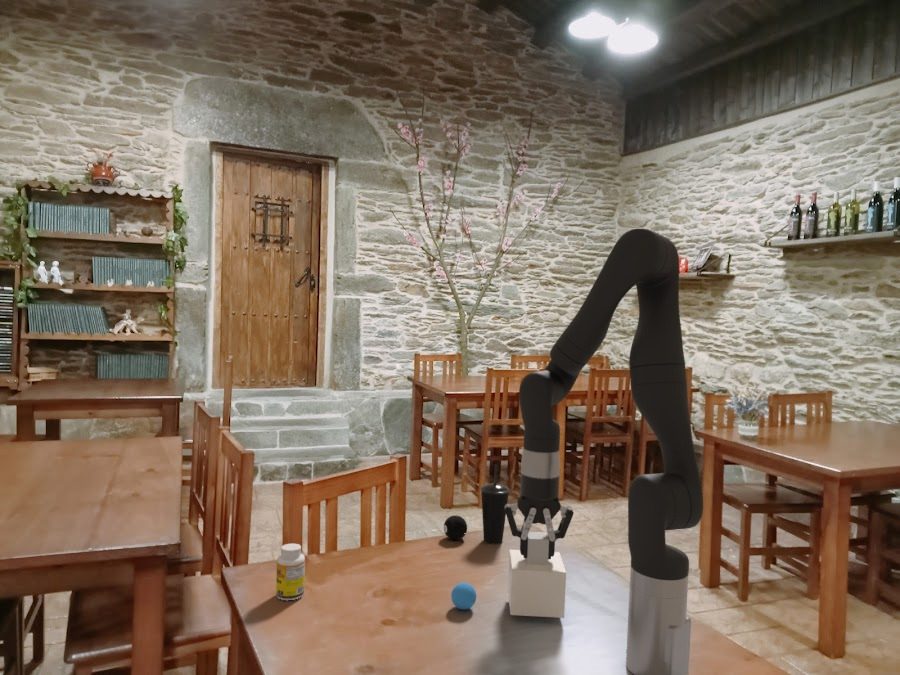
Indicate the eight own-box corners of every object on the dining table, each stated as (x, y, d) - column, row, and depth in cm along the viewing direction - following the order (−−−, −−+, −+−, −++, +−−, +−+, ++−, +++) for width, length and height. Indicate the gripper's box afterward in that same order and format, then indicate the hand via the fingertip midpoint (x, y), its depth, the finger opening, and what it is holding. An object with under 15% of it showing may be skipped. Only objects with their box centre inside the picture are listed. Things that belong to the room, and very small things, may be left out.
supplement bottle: (275, 591, 131) (276, 542, 131) (303, 588, 133) (304, 540, 132) (276, 603, 126) (277, 553, 125) (305, 600, 127) (306, 550, 127)
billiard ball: (439, 536, 166) (440, 513, 166) (460, 533, 169) (461, 511, 168) (449, 544, 161) (450, 521, 160) (470, 541, 163) (471, 518, 163)
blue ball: (481, 609, 126) (482, 584, 126) (463, 616, 123) (463, 591, 123) (463, 600, 130) (464, 576, 130) (445, 607, 127) (446, 582, 126)
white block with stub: (557, 593, 131) (560, 528, 130) (564, 617, 121) (567, 546, 120) (507, 591, 131) (510, 525, 131) (510, 614, 121) (513, 543, 121)
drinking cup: (506, 547, 160) (509, 469, 159) (476, 544, 161) (479, 466, 160) (509, 537, 167) (512, 462, 166) (480, 534, 169) (483, 459, 168)
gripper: (573, 468, 128) (570, 552, 129) (503, 465, 129) (500, 548, 130) (579, 478, 121) (575, 567, 122) (504, 475, 121) (501, 563, 122)
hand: (536, 556), depth 126 cm, fingers closed on white block with stub, 4 cm apart
